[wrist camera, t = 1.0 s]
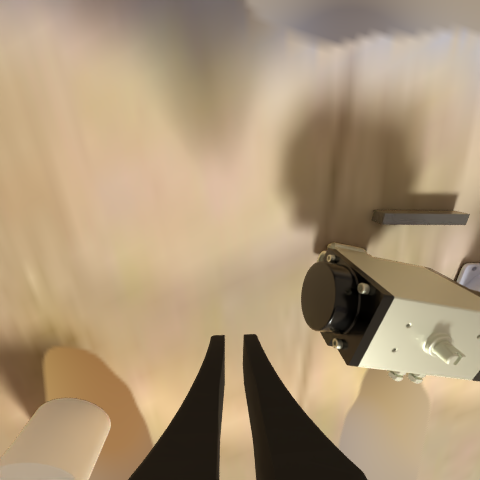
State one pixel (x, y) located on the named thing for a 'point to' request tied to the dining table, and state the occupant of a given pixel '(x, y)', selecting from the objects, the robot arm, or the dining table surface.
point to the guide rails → (420, 217)
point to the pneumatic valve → (393, 315)
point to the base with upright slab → (57, 442)
